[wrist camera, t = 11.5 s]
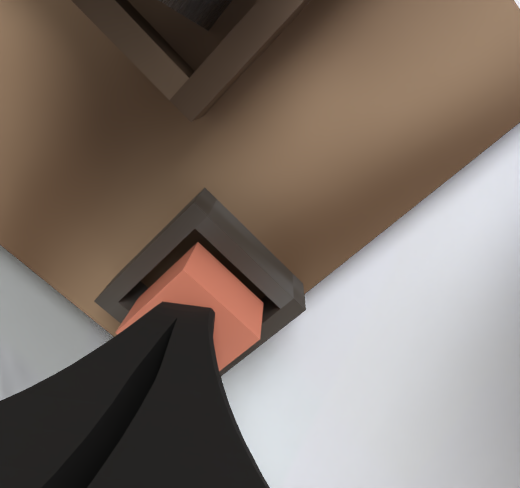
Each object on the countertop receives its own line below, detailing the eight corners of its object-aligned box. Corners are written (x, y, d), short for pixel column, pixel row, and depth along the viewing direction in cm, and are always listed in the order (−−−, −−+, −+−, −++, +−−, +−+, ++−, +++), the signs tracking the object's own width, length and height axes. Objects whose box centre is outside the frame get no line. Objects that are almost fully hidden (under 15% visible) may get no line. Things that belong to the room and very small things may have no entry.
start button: (263, 302, 12) (260, 339, 10) (202, 352, 13) (190, 394, 11) (197, 241, 11) (183, 269, 10) (138, 297, 12) (115, 332, 11)
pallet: (546, 82, 12) (616, 83, 9) (187, 373, 16) (170, 426, 14) (189, -431, 8) (152, -635, 6) (-134, 108, 13) (-230, 115, 10)
